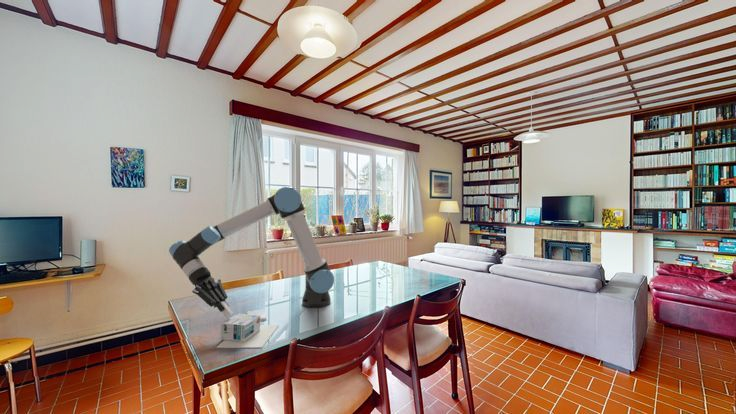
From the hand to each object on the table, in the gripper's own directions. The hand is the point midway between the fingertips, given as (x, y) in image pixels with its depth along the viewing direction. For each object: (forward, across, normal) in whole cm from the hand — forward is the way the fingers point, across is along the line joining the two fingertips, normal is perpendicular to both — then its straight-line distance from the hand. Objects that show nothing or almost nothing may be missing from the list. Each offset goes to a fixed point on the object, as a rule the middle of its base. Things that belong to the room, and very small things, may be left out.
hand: (230, 315), depth 113 cm
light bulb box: (+2, 0, -4) cm, 4 cm away
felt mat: (+12, -2, 0) cm, 12 cm away
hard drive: (+5, -19, -8) cm, 21 cm away
